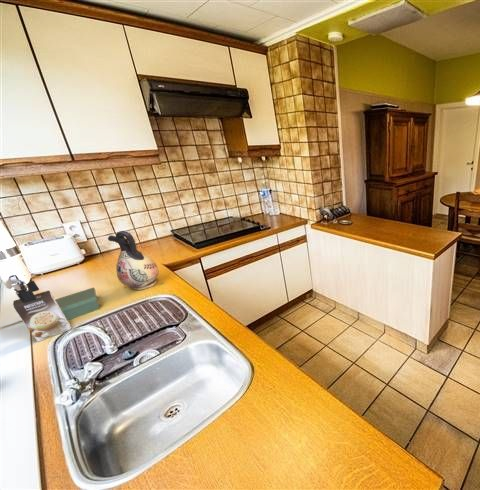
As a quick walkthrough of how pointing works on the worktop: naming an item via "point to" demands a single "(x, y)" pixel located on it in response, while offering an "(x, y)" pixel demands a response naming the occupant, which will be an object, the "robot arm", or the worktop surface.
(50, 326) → the coffee box
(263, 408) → the worktop surface
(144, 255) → the ceramic jug
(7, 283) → the robot arm
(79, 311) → the green block
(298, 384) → the worktop surface
